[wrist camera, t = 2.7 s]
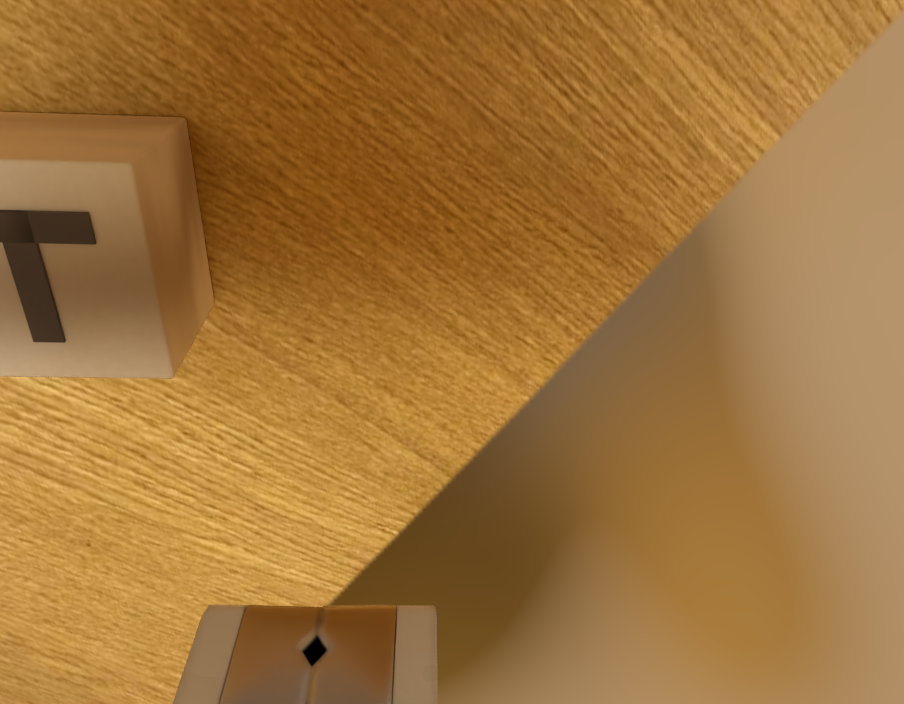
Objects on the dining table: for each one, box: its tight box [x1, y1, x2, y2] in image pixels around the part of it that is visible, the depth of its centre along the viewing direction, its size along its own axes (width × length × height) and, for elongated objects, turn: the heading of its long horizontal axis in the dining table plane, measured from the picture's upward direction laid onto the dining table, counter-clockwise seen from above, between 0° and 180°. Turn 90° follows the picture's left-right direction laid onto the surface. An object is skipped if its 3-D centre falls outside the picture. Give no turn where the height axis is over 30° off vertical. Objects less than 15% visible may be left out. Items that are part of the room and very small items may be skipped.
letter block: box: [0, 112, 214, 379], centre depth 20 cm, size 6×6×5 cm
